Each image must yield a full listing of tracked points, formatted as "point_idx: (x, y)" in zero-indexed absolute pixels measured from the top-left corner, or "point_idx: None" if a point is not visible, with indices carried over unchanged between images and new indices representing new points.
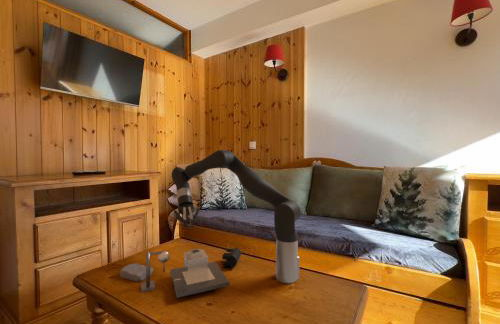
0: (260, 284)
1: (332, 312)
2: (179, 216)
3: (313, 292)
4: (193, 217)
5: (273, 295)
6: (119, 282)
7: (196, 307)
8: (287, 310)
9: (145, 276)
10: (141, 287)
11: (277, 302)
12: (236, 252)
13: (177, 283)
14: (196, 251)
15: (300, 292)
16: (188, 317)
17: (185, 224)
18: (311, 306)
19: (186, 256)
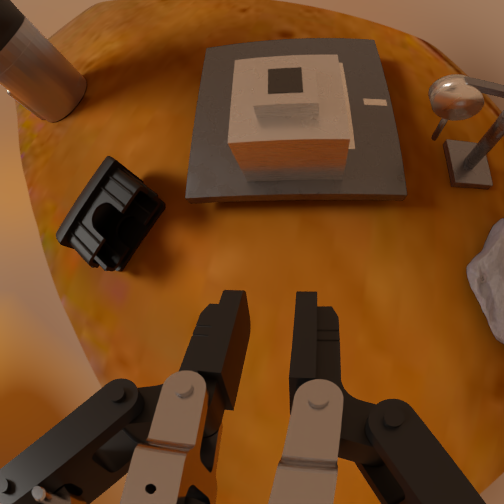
0: (127, 79)
1: (102, 10)
2: (418, 452)
3: (75, 50)
4: (149, 407)
5: (136, 41)
6: None
7: (321, 33)
8: (150, 9)
9: (486, 244)
10: (485, 155)
11: (147, 24)
12: (80, 194)
13: (374, 80)
14: (283, 72)
15: (90, 49)
16: (342, 16)
17: (317, 328)
18: (111, 18)
19: (341, 88)
